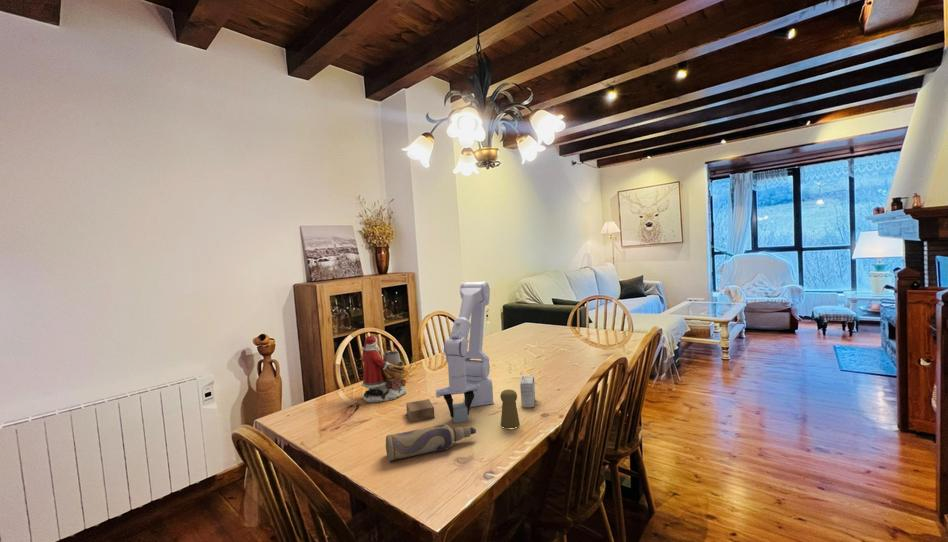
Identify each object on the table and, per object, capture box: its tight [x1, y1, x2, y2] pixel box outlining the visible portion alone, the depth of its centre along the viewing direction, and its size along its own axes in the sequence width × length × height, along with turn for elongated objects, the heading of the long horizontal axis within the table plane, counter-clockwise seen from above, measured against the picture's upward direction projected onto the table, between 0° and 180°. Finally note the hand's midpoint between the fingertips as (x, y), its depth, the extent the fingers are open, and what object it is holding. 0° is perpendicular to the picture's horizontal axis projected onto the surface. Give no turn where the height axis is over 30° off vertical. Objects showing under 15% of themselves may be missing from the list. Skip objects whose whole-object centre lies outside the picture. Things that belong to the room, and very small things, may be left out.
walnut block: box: [405, 398, 436, 423], centre depth 134 cm, size 8×8×4 cm
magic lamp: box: [401, 356, 418, 384], centre depth 170 cm, size 7×18×11 cm, turn 94°
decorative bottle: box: [385, 423, 477, 462], centre depth 111 cm, size 26×8×7 cm, turn 109°
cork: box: [500, 389, 521, 429], centre depth 123 cm, size 6×6×11 cm
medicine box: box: [519, 375, 536, 408], centre depth 140 cm, size 8×4×9 cm, turn 168°
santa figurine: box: [360, 335, 407, 404], centre depth 154 cm, size 17×14×25 cm
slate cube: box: [451, 402, 469, 424], centre depth 130 cm, size 4×4×4 cm
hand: (459, 415), depth 130 cm, fingers closed on slate cube, 4 cm apart
